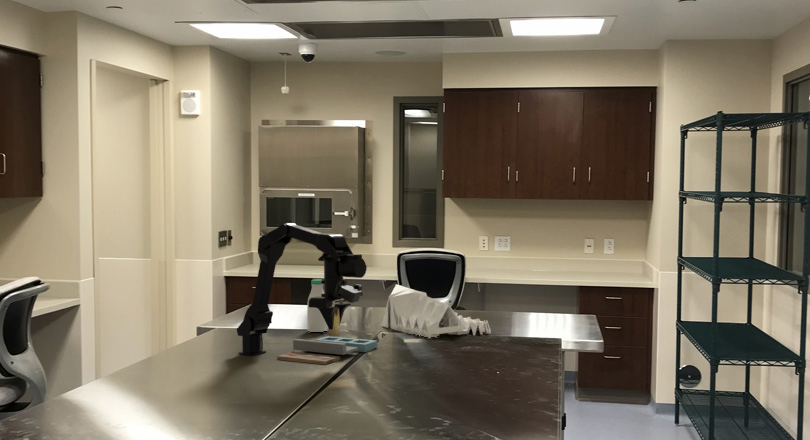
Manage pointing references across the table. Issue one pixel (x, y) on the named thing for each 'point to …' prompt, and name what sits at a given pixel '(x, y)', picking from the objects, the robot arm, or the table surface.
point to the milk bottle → (313, 314)
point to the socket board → (352, 342)
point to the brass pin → (335, 324)
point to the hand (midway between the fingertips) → (334, 328)
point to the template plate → (308, 358)
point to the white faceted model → (426, 315)
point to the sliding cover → (322, 346)
